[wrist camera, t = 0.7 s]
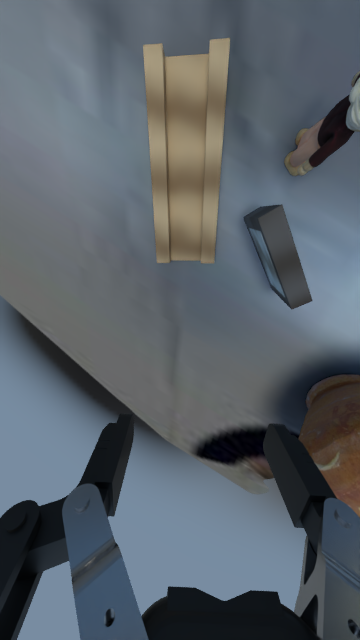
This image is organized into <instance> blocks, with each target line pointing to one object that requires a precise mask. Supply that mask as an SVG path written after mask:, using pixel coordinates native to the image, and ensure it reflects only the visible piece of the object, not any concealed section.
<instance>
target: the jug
mask: <svg viewBox="0 0 360 640" xmlns="http://www.w3.org/2000/svg"><path fill="white" fill-rule="evenodd" d="M305 402H306V405H307V408H308V409H309V410H308V412H307V414H306V416H305V419H304V423H303V425H302V428H301V431H300V436H299V438H298V439H299V440H300V441H301V442H302V443H303V445H304V446H305V448H306V449H307V451H308V453H309V455H310V456H311V457H312V459H313V461H314V463H315V464H316V465H317V467H318V469H319V470H320V472H321V473H322V475H323V477H324V478H325V480H326V481H327V483H328V484H329V486H330V488H331V489H332V491H333V492H334V494H335V496H336V497H337V499H338V500H341V501H342V502H344V503H345V504H347V505H348V506H349V507H351V508H352V509H353V510H354V512H355V513H356V514H357V515H358V516H359V517H360V375H353V374H351V375H347V374H341V375H336V376H331V377H329V378H326V379H323V380H321V381H320V382H318V383H316V384H315V385H313V386H312V388H311V390H310V391H309V392H308V393H307V398H306V401H305Z"/></svg>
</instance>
